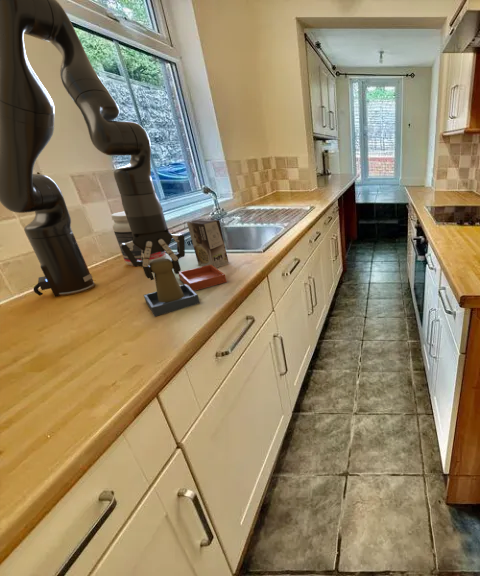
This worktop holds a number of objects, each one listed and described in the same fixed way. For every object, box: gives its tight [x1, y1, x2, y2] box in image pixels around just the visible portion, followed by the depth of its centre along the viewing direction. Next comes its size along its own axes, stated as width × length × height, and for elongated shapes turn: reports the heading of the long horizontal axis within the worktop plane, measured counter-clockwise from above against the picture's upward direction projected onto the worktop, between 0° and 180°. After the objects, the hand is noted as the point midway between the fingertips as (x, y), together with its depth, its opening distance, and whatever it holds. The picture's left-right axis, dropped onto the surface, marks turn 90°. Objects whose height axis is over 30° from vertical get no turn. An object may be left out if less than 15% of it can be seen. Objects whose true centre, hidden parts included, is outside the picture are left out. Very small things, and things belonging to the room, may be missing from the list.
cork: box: [149, 257, 184, 302], centre depth 85 cm, size 6×6×11 cm
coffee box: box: [186, 218, 230, 269], centre depth 114 cm, size 9×6×16 cm
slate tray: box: [143, 283, 201, 317], centre depth 88 cm, size 11×11×3 cm
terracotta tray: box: [178, 265, 228, 292], centre depth 102 cm, size 10×13×3 cm
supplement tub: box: [110, 210, 167, 267], centre depth 116 cm, size 13×13×18 cm
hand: (164, 275), depth 85 cm, fingers closed on cork, 5 cm apart
